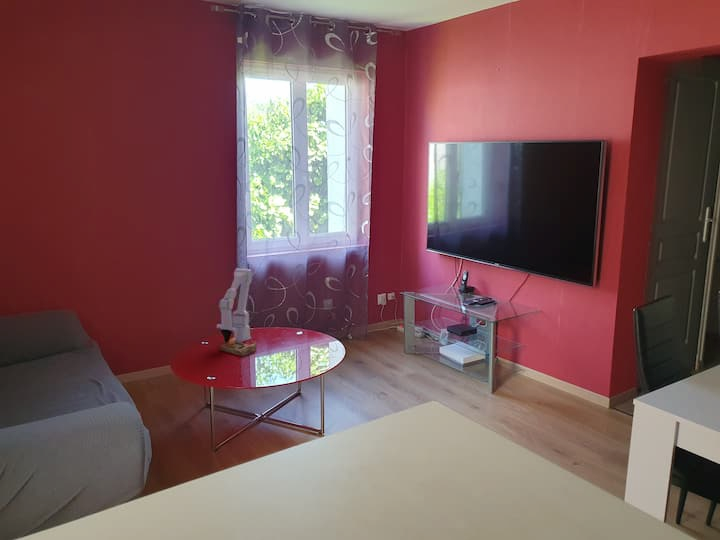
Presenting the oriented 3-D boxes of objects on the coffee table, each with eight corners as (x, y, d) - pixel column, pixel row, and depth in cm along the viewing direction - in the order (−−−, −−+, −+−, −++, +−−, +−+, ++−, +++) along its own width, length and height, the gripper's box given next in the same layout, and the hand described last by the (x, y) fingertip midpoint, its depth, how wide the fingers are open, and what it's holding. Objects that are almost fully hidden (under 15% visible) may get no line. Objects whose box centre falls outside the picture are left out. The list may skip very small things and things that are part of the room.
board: (233, 344, 336) (233, 337, 335) (256, 350, 327) (256, 343, 326) (220, 350, 327) (219, 342, 326) (243, 356, 318) (242, 348, 317)
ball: (231, 343, 331) (231, 337, 331) (236, 344, 330) (236, 338, 329) (227, 344, 328) (227, 339, 328) (231, 346, 327) (231, 340, 326)
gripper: (212, 318, 328) (213, 340, 331) (230, 323, 321) (231, 345, 324) (221, 316, 334) (222, 337, 337) (239, 320, 327) (239, 342, 329)
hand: (227, 341), depth 331 cm, fingers closed
